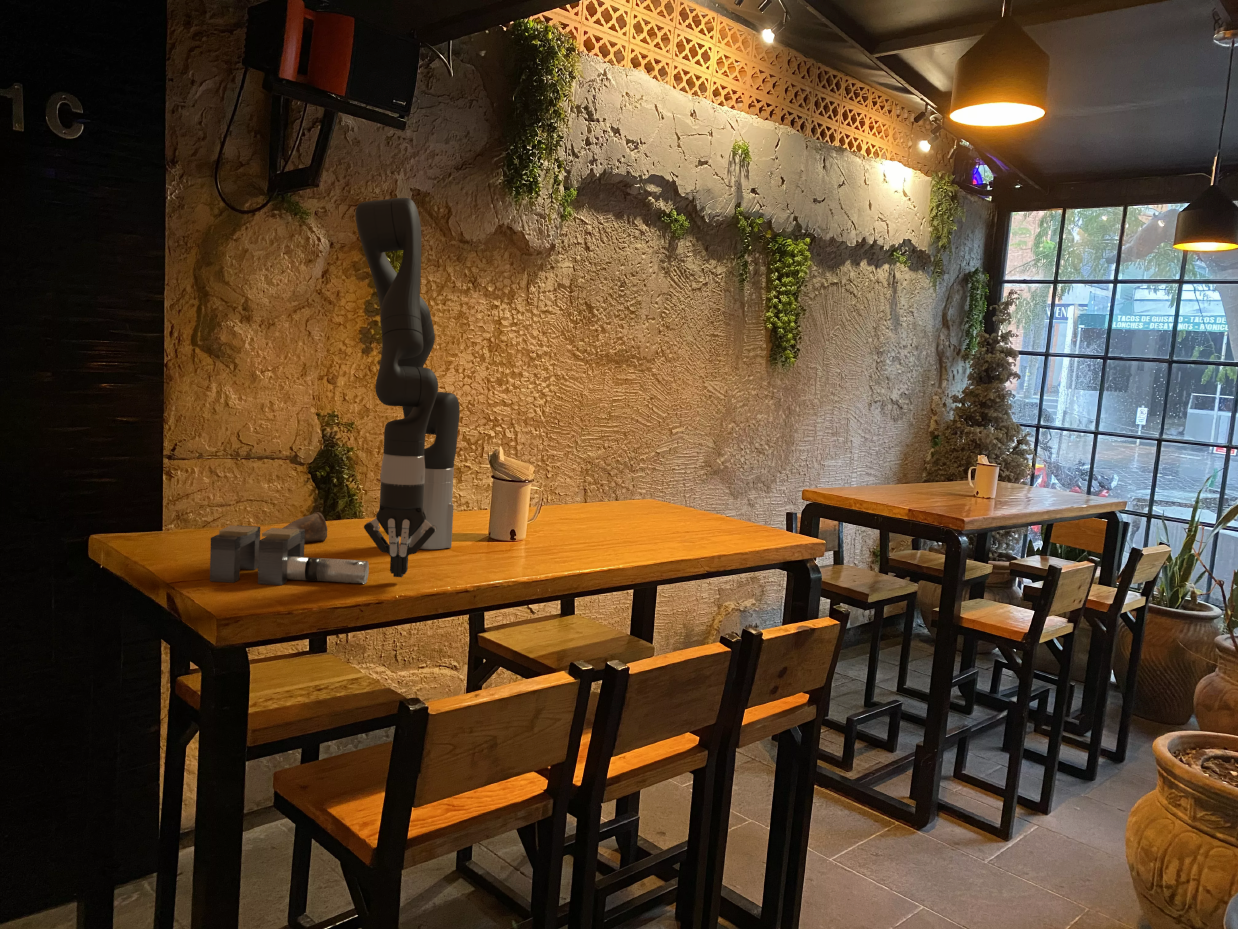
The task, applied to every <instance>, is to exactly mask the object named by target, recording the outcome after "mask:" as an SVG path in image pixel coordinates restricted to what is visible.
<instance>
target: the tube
mask: <svg viewBox="0 0 1238 929" xmlns="http://www.w3.org/2000/svg"><path fill="white" fill-rule="evenodd" d="M369 567H370V566H369V561H368V560H357V559H343V558H342V559H341V558H323V557H322V558H321V557H307V556H304V557H292V556H287V580H294V581H295V580H296V581H309V582H310V581H311V582H312V581H313V582H328V583H329V582H330V583H344V584H345V583H349V584H350V583H351V584H363V585H365V584H367V582H368V577H369V570H370V568H369Z"/></svg>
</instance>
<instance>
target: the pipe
mask: <svg viewBox="0 0 1238 929" xmlns="http://www.w3.org/2000/svg"><path fill="white" fill-rule="evenodd" d="M282 528H292V529H305V542H304V544H305V543H316V542H325V541H326V540H327V538H328V526H327V521H326V519H325V517H324V515H323V514H322V513H321V512H320V511H319V512H318V511H317V512H313V514H308V515H305V516H304V517H300V518H298V519H296V520H293V521H292V522H290V523H288V524H287V525H285V526H283V527H282Z"/></svg>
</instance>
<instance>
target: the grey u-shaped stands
mask: <svg viewBox="0 0 1238 929" xmlns="http://www.w3.org/2000/svg"><path fill="white" fill-rule="evenodd" d="M261 537H263V538H261ZM304 542H305V529H292V528H283V527H281V528H279V527H271V528H270V529H269V528H268V529H266V530H265V531H263V532H262V533H261V526H260V525H259V526H254V525H238V524H237V525H228V526H226V527H224V528H222V529H219V530H218V534H216V535H214V536H211V537H210V550H209V551H210V553H209V554H210V558H209V562H210V563H209V582H217V583H233V584H234V583H236V582H237V581H239V580H240V572H241V571H240V570H246V571H247V570H250V571H255V570H257V584H258V585H266V586H267V585H268V586H269V585H271V586H272V585H273V586H283V585H284V584H285V583H287V582H288V579H287V556H292V557H305V543H304Z"/></svg>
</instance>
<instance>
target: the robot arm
mask: <svg viewBox="0 0 1238 929" xmlns="http://www.w3.org/2000/svg"><path fill="white" fill-rule="evenodd" d="M354 212H355V214H354V215H355V216H354V217H355V223H356V228H357V234H358V237H359V240H360V243H361V247H362V249H363V252H364V255H365V258H366V261H367V264H368V268H369V271H370V273H371V276H372V277H371V278H372V280H373V284H374V286H375V290H376V294H377V299H378V303H379V307H380V315H379V316H380V317H379V318H380V319H379V320H380V329H381V338H382V340H381V342H382V346H381V358H380V363H379V368H378V371H377V375H376V381H375V389H374V390H375V394H376V398H378V400H379V401H380V402H381V403H382V404H383V405H385V406H389V407H402V411H403V412H402V413H403V418H400V419H394V420H391V421H388V422H386V424H385V426H384V432H383V454H382V461H381V469H380V476H379V477H380V486H379V487H380V489H379V490H380V491H379V507H378V508H379V509H378V511H377V512H376V514H375V518H374V519H372V520H370V521H368V522H366V523H365V524H364V525H363V529H364V530H365V532H366V533H367V534H368V536H369V537H370V539H371V540H372V541H373V543H374V544H375V546H376V547H377V549H378V550H379V551H380V552H381V553H386V554H388V555H389V557H390V561H389V562H390V563H389V564H390V565H389V568H390V569H389V573H390V574H391V575H392V574H393V578H403V577H404V575H406V574H407V572H408V568H409V567H408V566H409V556H410V555H415V554H416V553H417V552H418V551H419V550H443V549H451V548H452V544H453V543H452V542H453V540H452V539H453V524H454V503H453V493H454V476H455V474H454V472H455V471H454V470H455V458H456V456H457V455H456V454H457V447H458V446H457V443H458V436H459V435H458V433H459V427H460V426H459V424H460V414H461V413H460V412H461V411H460V410H461V408H460V403H459V402H460V401H459V399H458V397H457V395H456V394H454V393H452V392H446V391H439V381H438V378H437V375H436V374H435V372H434V371H433V370H432V369H431V368H427V367H424V366H425V364H426V362H427V360H428V358H429V356H430V355H431V353H432V350H433V348H434V345H435V341H436V334H435V329H434V328H435V327H434V323H433V321H432V320H433V318H432V315H431V311H430V307H429V305H428V304H427V303H426V301H425V300H424V298H423V297H421V280H422V279H421V278H422V223H421V219H420V213H419V210H418V207H417V205H416V204H415V202H414V201H413V199H411V198H409V197H396V198H387V199H378V200H376V199H375V200H369V201H363V202H360V203H358V204H357V206H356V209H355V211H354ZM400 251H402V259H401V263H400V266H399V269H398V271H396V270H395V269H394V267H393V266H392V264H391V262H390V261H389V258H388V257H387V255H386V253H390V252H391V253H392V252H400ZM426 435H431V436H435V438H434V442H433V443H432V444H431V445H430V446H428V447H426ZM381 528H382V529H383V531H384V532H385V534H386V535H387V536H388V541H387V540H386V538H385V537H384V535H383V534H382V532H380V529H381Z"/></svg>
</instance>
